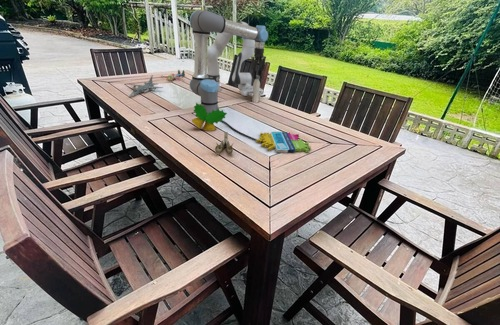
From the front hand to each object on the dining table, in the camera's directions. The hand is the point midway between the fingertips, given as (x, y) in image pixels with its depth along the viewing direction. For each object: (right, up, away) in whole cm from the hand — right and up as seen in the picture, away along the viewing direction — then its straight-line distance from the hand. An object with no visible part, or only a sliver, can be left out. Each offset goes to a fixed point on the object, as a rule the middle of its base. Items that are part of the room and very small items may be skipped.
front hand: (257, 78), depth 214 cm
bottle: (-1, -17, +9) cm, 19 cm away
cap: (0, +2, -1) cm, 2 cm away
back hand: (0, -12, +6) cm, 13 cm away
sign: (+13, -58, -62) cm, 85 cm away
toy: (-86, +21, +66) cm, 110 cm away
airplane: (-99, -7, +15) cm, 100 cm away
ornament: (-31, -48, -50) cm, 76 cm away
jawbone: (-19, -63, -76) cm, 101 cm away
